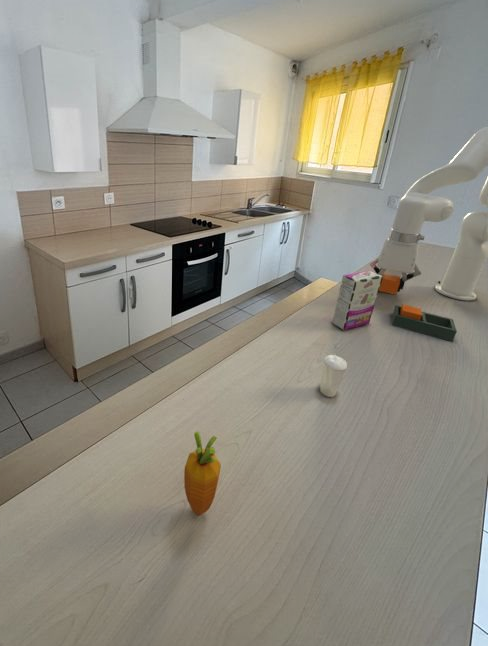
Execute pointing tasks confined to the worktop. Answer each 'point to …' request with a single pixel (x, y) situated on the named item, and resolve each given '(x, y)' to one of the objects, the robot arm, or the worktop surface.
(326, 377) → the milkshake
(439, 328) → the pad holder
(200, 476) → the carrot
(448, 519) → the worktop surface
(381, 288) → the loose pad
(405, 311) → the seated pad
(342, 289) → the candy bar box
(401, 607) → the worktop surface
